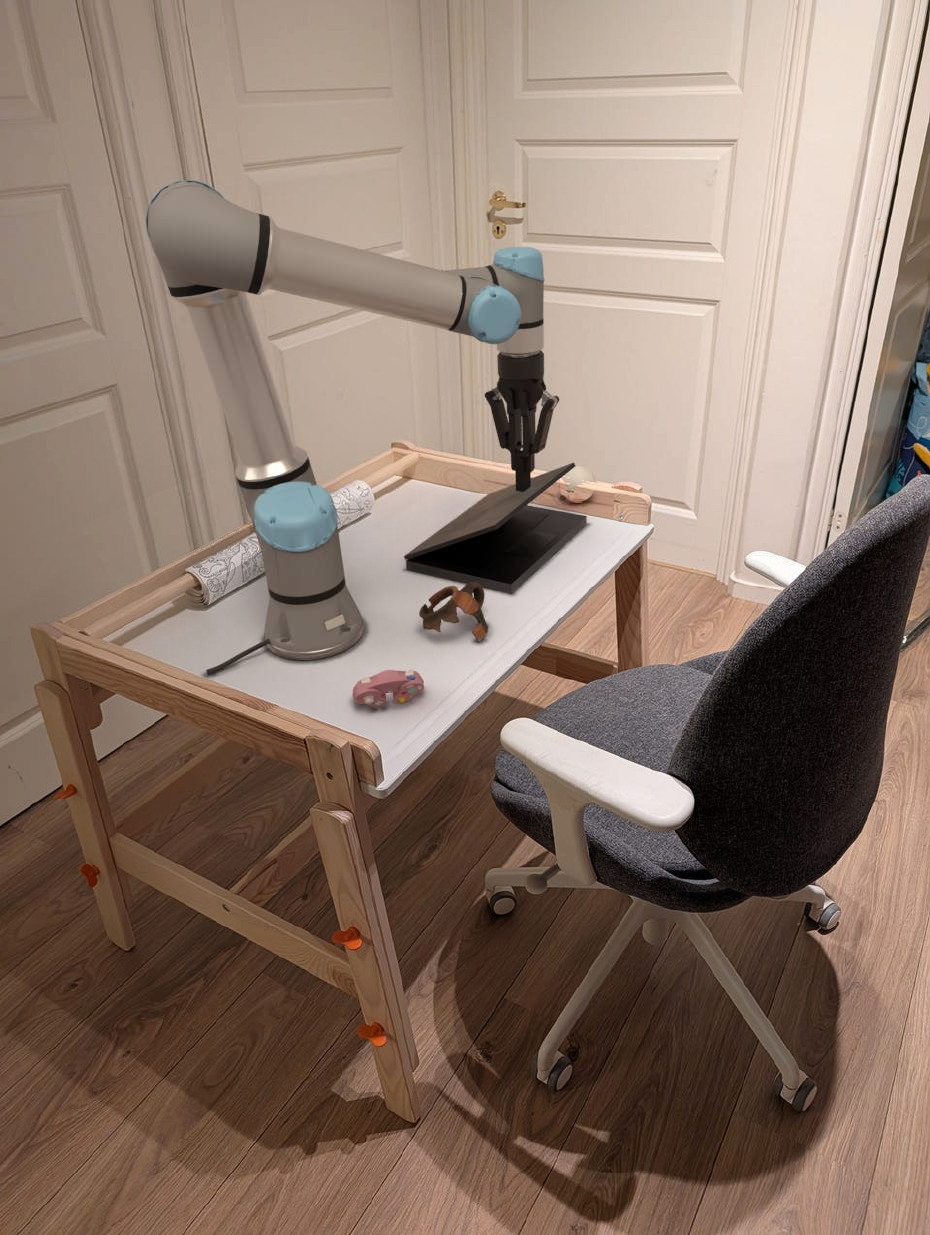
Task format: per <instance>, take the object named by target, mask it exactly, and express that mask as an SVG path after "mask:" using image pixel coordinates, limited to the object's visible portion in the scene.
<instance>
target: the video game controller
mask: <svg viewBox="0 0 930 1235" xmlns="http://www.w3.org/2000/svg"><path fill="white" fill-rule="evenodd" d="M424 690H425V685H424V679H423V677H422V676H421V674H420V673H419V672H418V671H416V670H414V669H411V668H410V669H407V670H395V669H386V670H382V671H380V672H378V673H375V674H374V675H371V676H367V677H366V676H365V677H363V678H361V679H360V680H358V681H357V682H356V683H355V685H354V686H353V688H352V698H353V700H354V702H355V704H357V705H361V704H362V705H369V706H370V707H372V708H376V709H378V708H382V707H384V706H386V705H387V703H388V701H387V695H386V694H392V698H393V702H394V703H395V704H404V703H408V701H410V699H411V698H412V697H414V696H416V695H419V694H420V693H422V692H423V691H424Z"/></svg>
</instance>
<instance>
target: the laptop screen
mask: <svg viewBox="0 0 930 1235" xmlns="http://www.w3.org/2000/svg"><path fill="white" fill-rule="evenodd" d="M575 466H576V464H575V462H570V463H568V464H566V465H563V466H560V467H557V468H555V469H553V470H550V471H547V472H545V473H544V472H543V473H542V474H539V475H537V476H533V477H531V487H530V488H528V489H527V490H526V491H524V492H520V491H516V483H515V484H513V485H510V486H507V487H504V488H502V489H499V490H496V491H494V492H491V493H488V494H486V495H485V496H484V497H482V498H481V499H480V500H479V501H476V503H474V504H473V505H472V506H470V507H469V508H468V509H466V510H464V511H463V512H462V513H460V514H459V515H458V516H456V517H455V518H453V519H452V520H451V521H450V522H449V523H447V524H445V525H444V526H443V527H441V528H440V529H439V530H437V531H436V532H435V533H433V534H432V535H430V536H429V537H428V538H426V539H425V540H423V542H421V543H420V544H418V545H417V546H415V547H414V548H413V549H411V550H410V551H408V552H407V553H406V554H405V555H404V556H403V559H404V560H405V561H406V560H408V559H411V558H414V557H417V556H420V555H423V554H426V553H428V552H431V551H434V550H437V549H440V548H443V547H446V546H449V545H452V544H455V543H458V542H461V541H464V540H467V539H470V538H473V537H476V536H479V535H481V534H484V533H487V532H490V531H493V530H496V529H498V528H499V527H500V526H501V525H503V524H504V523H505V522H506V521H508V520H509V519H510V518H511V517H513V516H514V515H515V514H516V513H518V512H519V511H520V510H521V509H523V508H524V507H525V506H526V505H528V506H529V504H531V503H532V502H533V501H534V500H535V499H537V498H538V497H539V496H540V495H541V494H543V493H544V492H546V490H548V489H549V488H550V487H551V486H553V485H554V484H555V483H557V482H558V481H560V478H561V477H563V476H564V475H565V474H566V473H568V472H569V471H570V470H571V469H573V468H574V467H575Z"/></svg>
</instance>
